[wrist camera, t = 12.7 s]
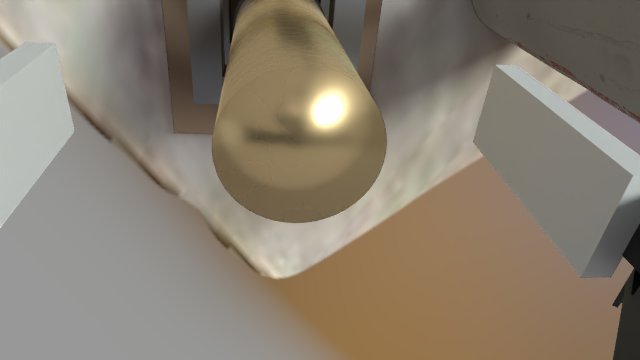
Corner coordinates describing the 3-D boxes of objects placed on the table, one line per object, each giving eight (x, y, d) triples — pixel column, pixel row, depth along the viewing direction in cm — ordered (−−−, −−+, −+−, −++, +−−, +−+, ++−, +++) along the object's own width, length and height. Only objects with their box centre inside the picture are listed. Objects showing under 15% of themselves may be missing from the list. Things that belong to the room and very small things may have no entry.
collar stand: (144, -222, 24) (90, -271, 17) (404, -191, 26) (462, -223, 18) (176, 126, 35) (151, 193, 27) (360, 132, 36) (385, 196, 29)
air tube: (240, -45, 28) (202, 56, 9) (309, -40, 29) (404, 65, 10) (240, 26, 30) (211, 226, 11) (305, 30, 31) (377, 226, 12)
